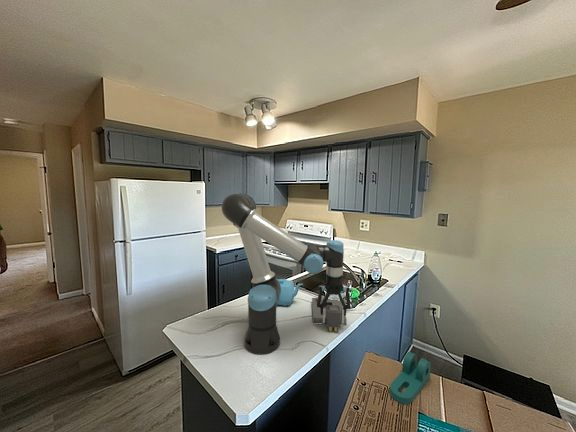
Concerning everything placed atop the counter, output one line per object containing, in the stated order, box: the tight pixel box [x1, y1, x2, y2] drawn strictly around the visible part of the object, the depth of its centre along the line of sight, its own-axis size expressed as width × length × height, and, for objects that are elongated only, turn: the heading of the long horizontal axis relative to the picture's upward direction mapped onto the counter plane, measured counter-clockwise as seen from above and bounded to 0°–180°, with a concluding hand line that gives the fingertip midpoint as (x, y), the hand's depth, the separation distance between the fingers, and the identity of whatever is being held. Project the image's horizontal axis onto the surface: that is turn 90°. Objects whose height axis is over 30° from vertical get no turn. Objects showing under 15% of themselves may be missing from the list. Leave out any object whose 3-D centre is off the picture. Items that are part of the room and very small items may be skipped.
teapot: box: [277, 278, 304, 307], centre depth 143 cm, size 18×16×14 cm
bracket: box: [389, 351, 432, 405], centre depth 83 cm, size 18×7×8 cm, turn 131°
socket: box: [311, 297, 348, 326], centre depth 131 cm, size 22×16×4 cm
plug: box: [326, 305, 342, 332], centre depth 116 cm, size 7×6×10 cm
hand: (332, 321), depth 116 cm, fingers open, 8 cm apart
